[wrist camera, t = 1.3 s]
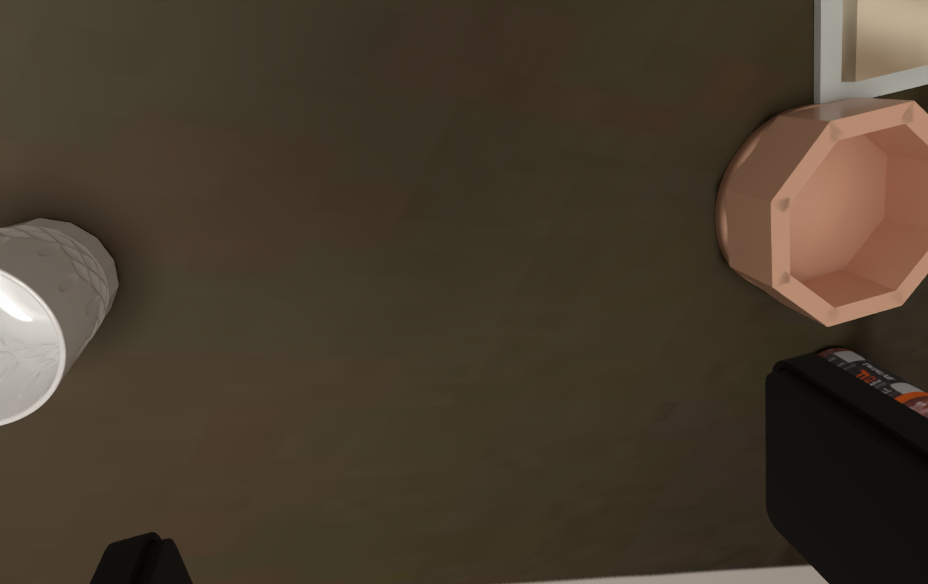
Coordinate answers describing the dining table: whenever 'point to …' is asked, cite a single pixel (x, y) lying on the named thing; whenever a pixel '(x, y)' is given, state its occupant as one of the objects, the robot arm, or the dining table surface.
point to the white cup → (47, 307)
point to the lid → (883, 37)
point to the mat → (830, 62)
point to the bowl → (830, 207)
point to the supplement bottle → (879, 378)
